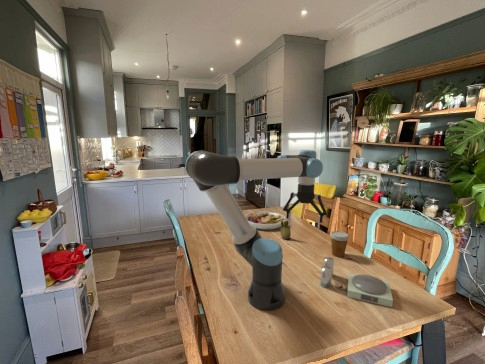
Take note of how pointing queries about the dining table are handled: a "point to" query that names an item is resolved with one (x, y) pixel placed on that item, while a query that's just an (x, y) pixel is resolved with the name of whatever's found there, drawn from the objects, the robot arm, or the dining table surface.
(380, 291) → the kitchen scale
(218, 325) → the dining table surface
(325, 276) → the cylinder
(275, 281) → the robot arm
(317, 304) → the dining table surface
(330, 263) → the spacer
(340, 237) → the disposable coffee cup
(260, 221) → the bowl
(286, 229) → the asparagus bundle
